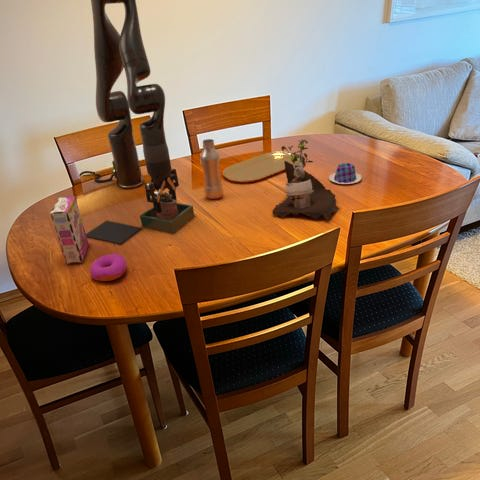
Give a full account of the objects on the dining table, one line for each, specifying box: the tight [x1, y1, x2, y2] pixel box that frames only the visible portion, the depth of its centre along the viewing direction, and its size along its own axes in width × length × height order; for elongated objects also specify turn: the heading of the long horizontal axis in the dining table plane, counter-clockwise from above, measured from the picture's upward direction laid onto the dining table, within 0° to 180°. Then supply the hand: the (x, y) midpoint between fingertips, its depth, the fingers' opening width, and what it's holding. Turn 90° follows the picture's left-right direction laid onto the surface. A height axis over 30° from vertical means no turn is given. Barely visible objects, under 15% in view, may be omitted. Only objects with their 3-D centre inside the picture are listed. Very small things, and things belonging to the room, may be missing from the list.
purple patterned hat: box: [328, 162, 363, 185], centre depth 169 cm, size 12×12×5 cm
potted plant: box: [272, 138, 339, 221], centre depth 151 cm, size 20×19×25 cm
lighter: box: [155, 192, 178, 221], centre depth 150 cm, size 8×3×10 cm, turn 71°
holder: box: [139, 202, 195, 234], centre depth 152 cm, size 13×13×4 cm
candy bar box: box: [49, 195, 90, 265], centre depth 135 cm, size 11×5×16 cm, turn 5°
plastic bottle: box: [199, 138, 224, 200], centre depth 160 cm, size 6×7×20 cm
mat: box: [86, 220, 143, 246], centre depth 150 cm, size 15×11×1 cm
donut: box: [89, 253, 128, 282], centre depth 129 cm, size 10×10×5 cm
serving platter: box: [222, 151, 300, 184], centre depth 184 cm, size 19×35×2 cm, turn 128°
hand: (166, 206), depth 150 cm, fingers open, 8 cm apart
